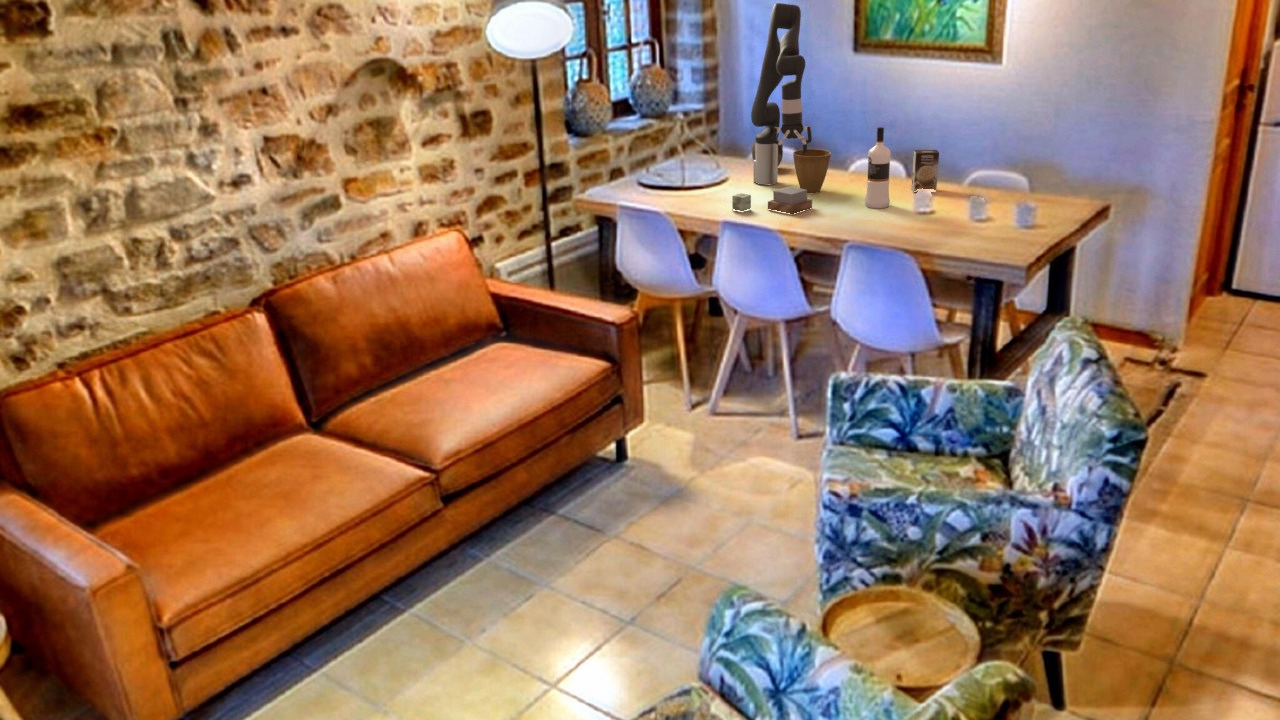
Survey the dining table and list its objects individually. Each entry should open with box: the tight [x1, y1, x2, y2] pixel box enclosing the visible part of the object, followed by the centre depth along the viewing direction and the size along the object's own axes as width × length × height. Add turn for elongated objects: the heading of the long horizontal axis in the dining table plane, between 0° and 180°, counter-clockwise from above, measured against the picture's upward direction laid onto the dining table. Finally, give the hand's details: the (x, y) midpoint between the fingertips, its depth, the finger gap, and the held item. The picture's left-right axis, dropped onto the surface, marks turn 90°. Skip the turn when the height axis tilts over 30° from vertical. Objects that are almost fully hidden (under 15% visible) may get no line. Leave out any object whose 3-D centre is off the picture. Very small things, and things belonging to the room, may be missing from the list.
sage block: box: [731, 192, 752, 211], centre depth 410 cm, size 5×5×6 cm
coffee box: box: [910, 149, 940, 193], centre depth 423 cm, size 9×6×16 cm
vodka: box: [864, 126, 892, 210], centre depth 403 cm, size 9×9×30 cm
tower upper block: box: [772, 186, 808, 205], centre depth 407 cm, size 9×9×4 cm
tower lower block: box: [767, 198, 813, 214], centre depth 409 cm, size 12×12×4 cm
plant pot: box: [792, 148, 832, 194], centre depth 430 cm, size 15×15×16 cm
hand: (792, 154), depth 403 cm, fingers open, 8 cm apart
